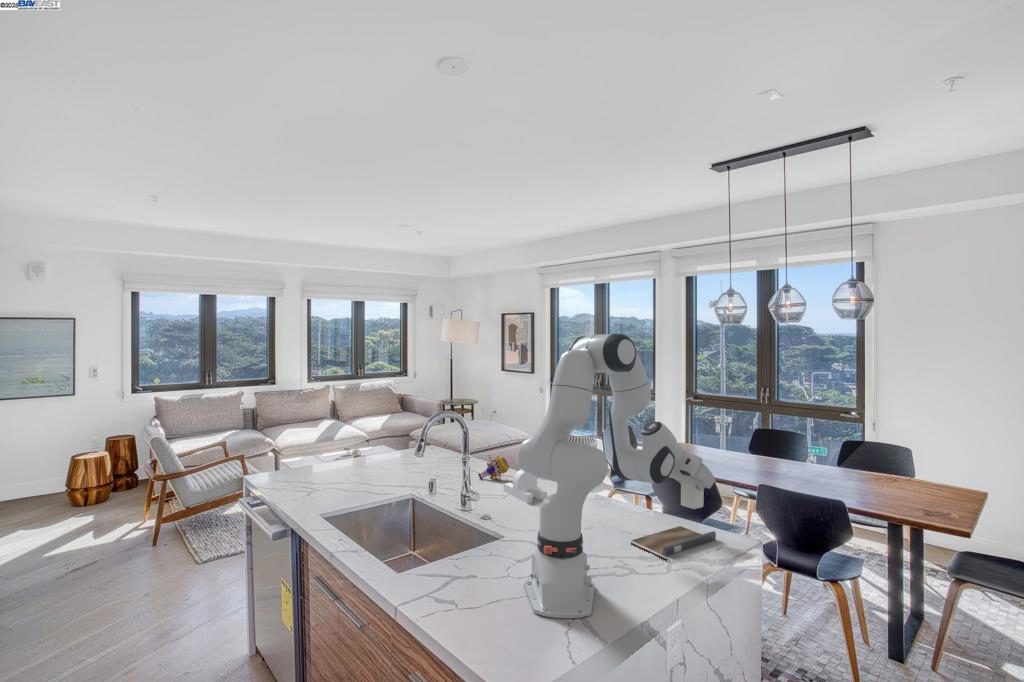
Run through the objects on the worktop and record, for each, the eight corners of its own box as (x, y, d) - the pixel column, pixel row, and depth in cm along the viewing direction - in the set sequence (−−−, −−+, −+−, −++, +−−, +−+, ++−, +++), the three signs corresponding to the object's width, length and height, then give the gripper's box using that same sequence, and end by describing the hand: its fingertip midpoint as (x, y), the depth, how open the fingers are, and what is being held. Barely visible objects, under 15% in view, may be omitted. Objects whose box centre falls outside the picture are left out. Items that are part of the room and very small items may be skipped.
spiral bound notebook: (715, 544, 165) (715, 539, 165) (665, 561, 152) (665, 556, 152) (680, 530, 176) (680, 525, 176) (630, 544, 163) (631, 540, 163)
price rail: (716, 540, 164) (716, 532, 164) (666, 556, 151) (666, 548, 151) (713, 538, 165) (713, 531, 165) (663, 555, 152) (663, 546, 152)
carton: (693, 509, 163) (693, 477, 163) (680, 505, 167) (681, 474, 167) (703, 506, 166) (704, 476, 166) (691, 502, 170) (691, 472, 170)
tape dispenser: (503, 492, 217) (504, 466, 217) (522, 488, 223) (523, 463, 223) (527, 504, 202) (527, 476, 202) (547, 500, 208) (547, 473, 207)
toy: (472, 463, 237) (499, 446, 236) (478, 465, 244) (504, 449, 243) (484, 489, 231) (512, 472, 230) (489, 490, 238) (517, 474, 237)
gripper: (644, 461, 169) (663, 486, 174) (696, 474, 152) (716, 502, 157) (653, 446, 172) (672, 472, 177) (705, 458, 155) (725, 486, 160)
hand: (693, 486), depth 167 cm, fingers closed on carton, 5 cm apart
